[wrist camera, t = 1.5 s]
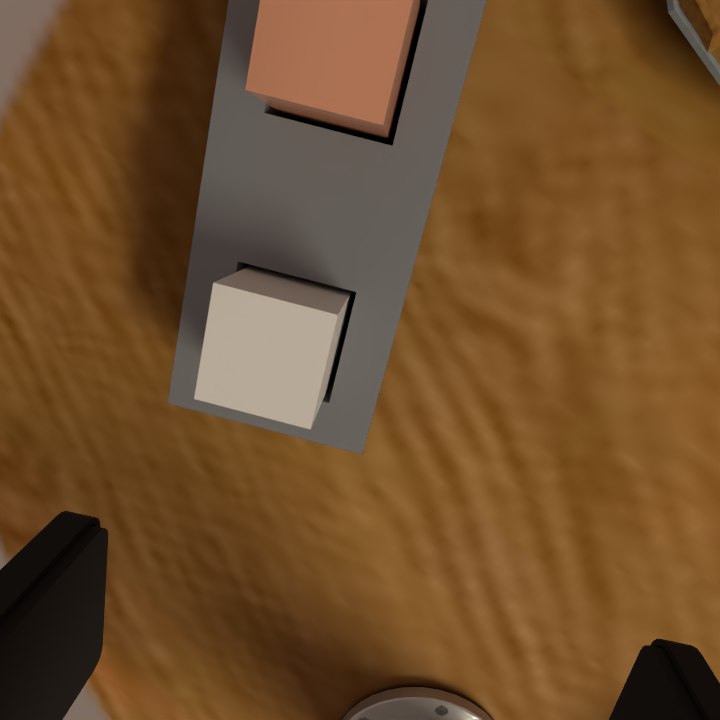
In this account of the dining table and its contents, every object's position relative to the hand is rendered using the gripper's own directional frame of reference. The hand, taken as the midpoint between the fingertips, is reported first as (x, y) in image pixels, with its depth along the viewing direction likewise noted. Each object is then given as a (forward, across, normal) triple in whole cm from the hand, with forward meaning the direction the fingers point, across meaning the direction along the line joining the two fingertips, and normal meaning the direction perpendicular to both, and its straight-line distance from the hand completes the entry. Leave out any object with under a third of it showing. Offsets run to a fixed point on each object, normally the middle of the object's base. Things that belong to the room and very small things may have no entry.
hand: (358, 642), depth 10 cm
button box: (+23, +5, -6) cm, 24 cm away
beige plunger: (+19, +5, 0) cm, 20 cm away
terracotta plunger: (+19, +4, -12) cm, 23 cm away
